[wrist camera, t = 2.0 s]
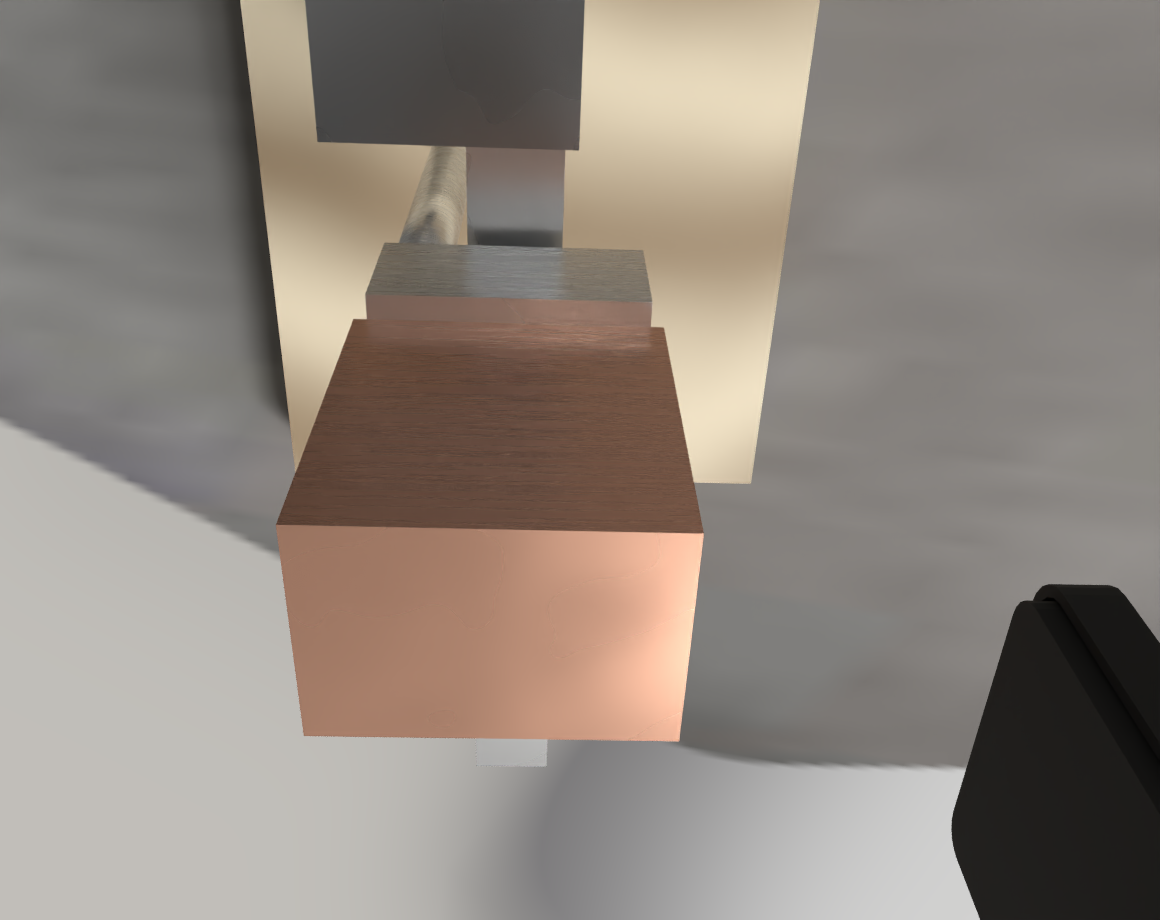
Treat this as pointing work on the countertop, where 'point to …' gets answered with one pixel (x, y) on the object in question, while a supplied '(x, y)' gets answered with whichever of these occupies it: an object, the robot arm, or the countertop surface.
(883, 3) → the countertop surface
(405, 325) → the slider block
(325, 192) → the hole plate
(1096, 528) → the countertop surface
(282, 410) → the countertop surface
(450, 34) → the divider frame
